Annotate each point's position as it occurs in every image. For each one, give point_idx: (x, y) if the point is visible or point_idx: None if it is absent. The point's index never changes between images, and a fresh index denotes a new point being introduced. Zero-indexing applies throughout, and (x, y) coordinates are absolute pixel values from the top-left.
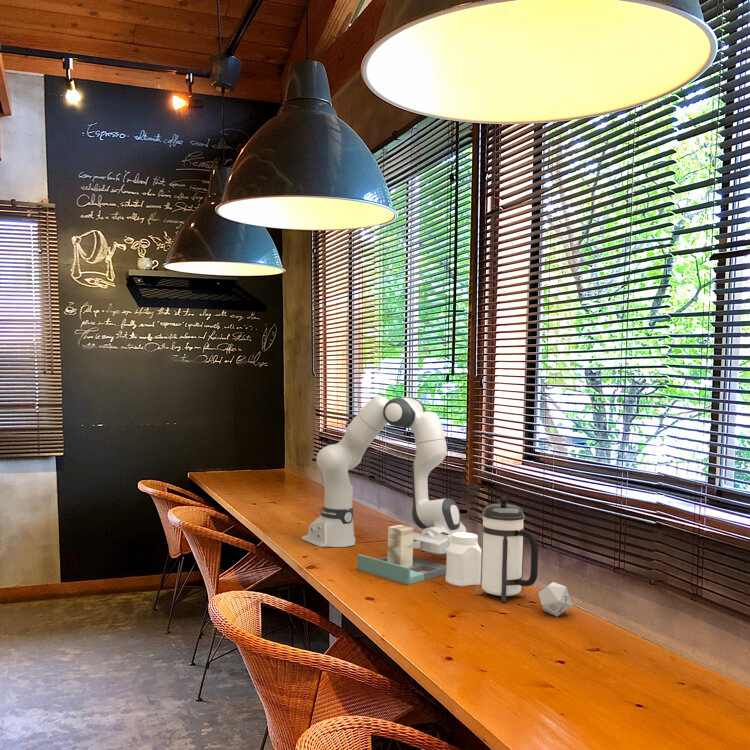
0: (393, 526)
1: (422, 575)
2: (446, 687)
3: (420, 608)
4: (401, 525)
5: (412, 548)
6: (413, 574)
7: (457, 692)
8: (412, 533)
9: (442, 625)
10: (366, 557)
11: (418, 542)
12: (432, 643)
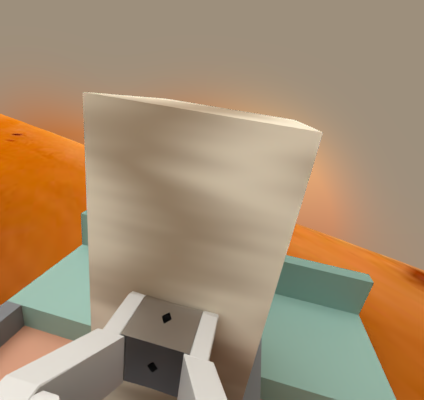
0: (290, 121)
1: (20, 295)
2: (27, 124)
3: (44, 180)
4: (282, 125)
5: (94, 296)
6: (70, 276)
7: (19, 123)
8: (95, 159)
9: (8, 157)
10: (308, 261)
11: (8, 375)
12: (32, 142)
